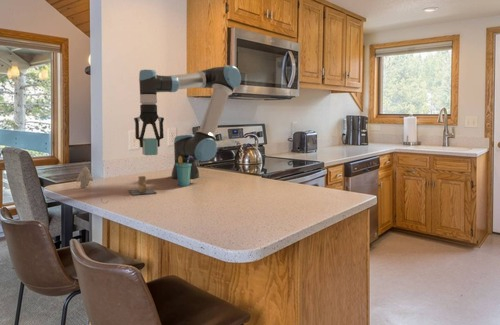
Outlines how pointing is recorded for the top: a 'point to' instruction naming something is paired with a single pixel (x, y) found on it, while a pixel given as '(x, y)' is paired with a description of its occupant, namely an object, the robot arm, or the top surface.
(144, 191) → the tan and gray stand
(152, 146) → the teal rectangular block
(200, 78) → the robot arm
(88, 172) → the arrowhead
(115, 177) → the top surface
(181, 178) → the cup
